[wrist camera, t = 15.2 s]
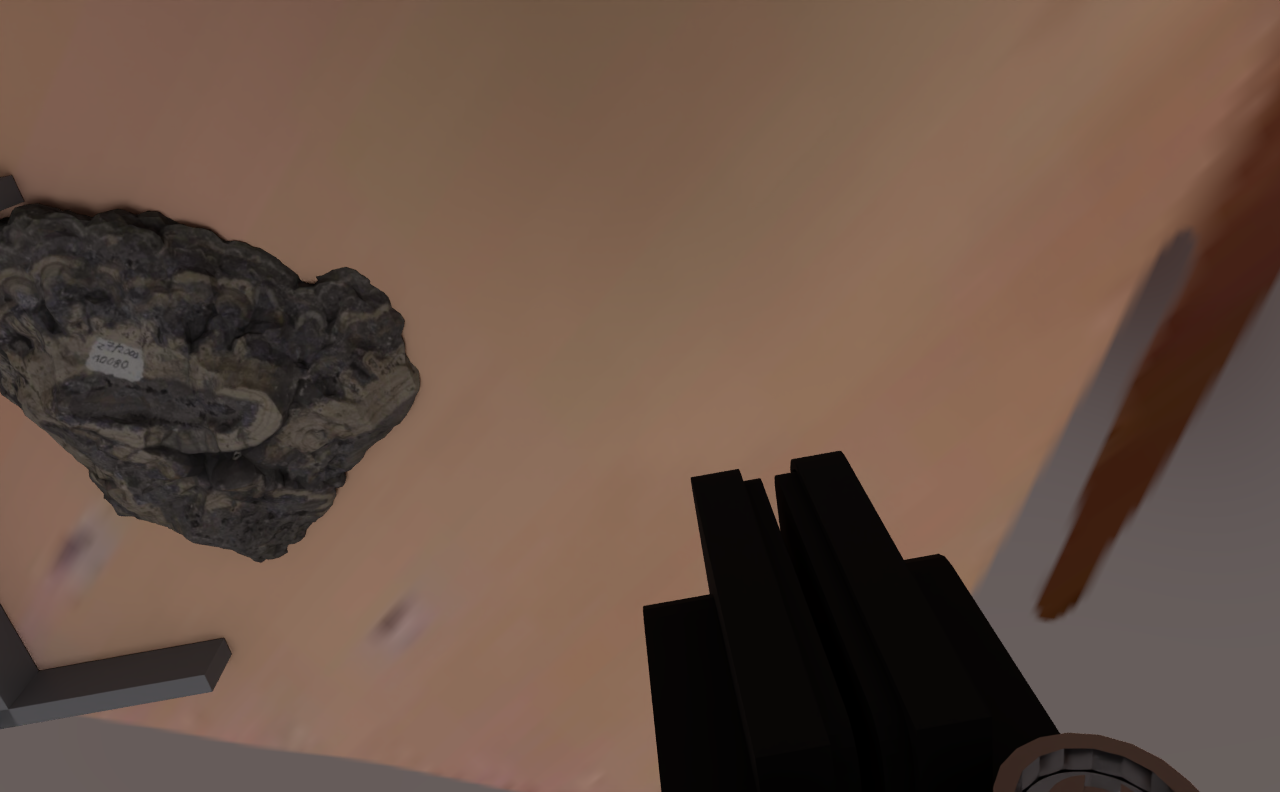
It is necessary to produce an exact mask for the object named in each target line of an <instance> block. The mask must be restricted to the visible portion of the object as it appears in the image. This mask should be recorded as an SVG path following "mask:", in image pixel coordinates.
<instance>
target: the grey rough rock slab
mask: <svg viewBox="0 0 1280 792" xmlns="http://www.w3.org/2000/svg"><path fill="white" fill-rule="evenodd" d="M316 278H317V280H318V281H317V282H316V283H315V284H308V283H305V282H303V281H301V280H300V278H299V276H298V275H297V274H296V273H295V272H293V271H292V270H291V269H289V268H288V267H287V266H285V265H283V264H282V263H281V262H280V260H279V259H277V258H276V257H274V256H272V255H271V254H269V253H267V252H266V251H264V250H262V249H261V248H254V247H251V246H249V245H248V244H246V243H242V242H238V241H231V242H230V241H225V240H222V239H220V238H219V237H218V236H217V235H216V234H214V233H213V232H212V231H211V230H207V229H204V228H193V227H189V226H186V225H184V224H179V223H177V222H175V221H173V220H172V219H170V218H167V217H165V216H163V215H162V214H161V213H160V212H150V211H147V212H144V213H141V214H137V215H135V214H132V213H130V212H128V211H125V210H121V209H115V210H112V211H108V212H104V213H99V214H97V215H95V216H94V217H90V216H87V215H79V214H76V213H74V212H72V211H70V210H65V211H62V210H60V209H58V208H54V207H50V206H46V205H41V204H38V203H37V204H28V205H23V206H19V207H16V208H14V209H13V211H12V213H11V216H10V217H6V218H3V219H1V220H0V392H1V394H2V395H3V396H4V397H6V398H7V399H9V400H10V401H11V402H13V403H14V404H16V405H18V406H19V407H20V408H21V409H22V410H23V412H24V414H25V416H27V417H28V418H29V419H31V420H32V421H33V422H34V423H36V424H37V425H38V426H39V427H40V428H42V429H43V430H45V431H46V432H47V433H48V434H49V435H50V436H51V437H52V438H53V439H54V440H55V441H56V442H58V443H59V444H60V445H61V446H62V447H63V448H64V449H65V450H66V451H67V452H69V453H70V454H72V455H73V456H74V458H75V459H76V460H77V461H78V462H80V463H81V464H83V465H84V466H85V467H86V468H88V469H89V477H90V479H91V480H92V482H94V483H95V484H96V485H97V487H98V488H99V489H100V490H101V491H102V492H103V493H104V499H106V500H107V501H108V502H109V503H110V504H111V505H112V506H113V507H114V509H115V511H116V513H117V515H119V516H134V517H136V518H137V519H140V520H145V521H149V522H152V523H156V524H158V525H162V526H166V527H168V528H169V529H172V530H174V531H175V532H177V533H179V534H182V535H183V536H184V537H185V538H186V539H188V540H189V541H191V542H193V543H197V544H202V545H208V546H214V547H220V548H223V549H231V550H233V551H235V552H237V553H239V554H241V555H244V556H247V557H250V558H251V559H252V560H254V561H256V562H260V563H261V562H263V561H264V560H266V559H275V558H279V557H281V556H283V555H284V554H286V553H287V552H288V551H287V546H288V544H295V543H297V542H299V541H301V540H302V539H303V538H304V537H305V534H306V530H307V528H308V527H309V526H310V525H311V524H312V522H316V520H317V519H318V518H320V517H322V516H323V515H324V514H325V513H326V512H327V510H328V509H329V508H330V507H331V506H332V504H333V500H334V498H335V497H336V488H339V487H342V486H343V485H344V484H345V481H346V475H345V472H347V471H349V470H351V469H352V468H353V467H354V466H355V465H356V464H357V463H358V462H360V460H361V459H362V458H363V457H364V454H365V452H366V451H367V450H368V449H369V448H370V447H371V446H372V445H374V444H375V443H376V442H377V441H379V440H381V439H383V438H384V437H385V436H386V435H387V434H388V433H389V432H390V431H391V430H392V428H393V427H394V426H396V425H398V424H400V422H401V421H402V420H403V419H404V418H405V416H406V415H407V413H408V411H409V410H410V408H411V406H412V404H413V402H414V399H415V396H416V394H417V393H418V391H419V386H420V381H419V371H418V369H417V368H416V367H415V366H414V365H413V364H412V363H411V362H410V360H409V358H408V357H407V356H406V354H405V346H404V342H403V339H402V337H401V334H402V330H403V327H404V319H403V318H402V316H401V314H400V313H399V312H397V311H396V310H394V309H393V308H392V307H391V303H390V301H389V298H388V297H387V295H386V294H385V293H384V292H382V291H380V290H379V289H378V288H376V287H374V286H373V285H371V284H370V280H369V279H368V278H366V277H365V276H363V275H361V274H360V273H359V272H358V271H356V270H354V269H351V268H348V267H344V268H339V269H335V270H331V271H330V272H328V273H326V274H325V275H322V276H317V277H316Z"/></svg>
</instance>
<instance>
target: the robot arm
mask: <svg viewBox="0 0 1280 792" xmlns="http://www.w3.org/2000/svg"><path fill="white" fill-rule="evenodd" d="M790 470H791V473H786V474H781V475H775V491H776V499H777V507H778V515H779V524H780V529H779V526H778V524H777V521H776V518H775V516H774V513H773V510H772V507H771V505H770V502H769V499H768V497H767V494H766V491H765V489H764V486H763V483H762V481H761V479H760V478H758V479H753V480H747V481H743V479H742V476H741V473H740V470H739V469H735V470H729V471H724V472H718V473H713V474H707V475H702V476H696V477H691V484H692V491H693V497H694V503H695V509H696V515H697V521H698V527H699V532H700V538H701V544H702V550H703V556H704V562H705V568H706V574H707V580H708V586H709V592H710V594H709V595H704V596H698V597H692V598H687V599H681V600H675V601H670V602H664V603H658V604H653V605H647V606H643V616H644V627H645V636H646V646H647V656H648V666H649V675H650V685H651V695H652V705H653V714H654V724H655V734H656V744H657V753H658V763H659V773H660V782H661V792H1199V791H1198V790H1197V789H1196V788H1195V787H1194V786H1193V785H1192V784H1191V782H1190V781H1188V780H1187V779H1186V778H1184V777H1183V776H1182V775H1181V774H1180V773H1179V772H1177V771H1176V770H1175V769H1174V768H1172V767H1171V766H1170V765H1169V764H1167V763H1166V762H1165V761H1164V760H1162V759H1160V758H1158V757H1156V756H1154V755H1153V754H1150V753H1149V752H1146V751H1145V750H1143V749H1141V748H1139V747H1137V746H1135V745H1133V744H1130V743H1126V742H1123V741H1119V740H1116V739H1112V738H1109V737H1105V736H1101V735H1093V734H1078V733H1064V734H1060V733H1059V732H1058V730H1057V728H1056V726H1055V725H1054V723H1053V722H1052V720H1051V719H1050V717H1049V716H1048V714H1047V713H1046V711H1045V709H1044V708H1043V706H1042V705H1041V703H1040V702H1039V700H1038V698H1037V697H1036V695H1035V694H1034V692H1033V691H1032V689H1031V688H1030V686H1029V684H1028V683H1027V681H1026V680H1025V678H1024V677H1023V675H1022V674H1021V672H1020V670H1019V669H1018V667H1017V666H1016V664H1015V663H1014V661H1013V660H1012V658H1011V657H1010V655H1009V653H1008V652H1007V650H1006V649H1005V647H1004V646H1003V644H1002V642H1001V641H1000V639H999V638H998V636H997V635H996V633H995V632H994V630H993V629H992V627H991V625H990V624H989V622H988V621H987V619H986V618H985V616H984V614H983V613H982V611H981V610H980V608H979V607H978V605H977V604H976V602H975V600H974V599H973V597H972V596H971V594H970V593H969V591H968V590H967V588H966V586H965V585H964V583H963V582H962V580H961V579H960V577H959V576H958V574H957V572H956V571H955V569H954V568H953V566H952V565H951V564H950V562H949V561H948V560H947V559H946V557H945V556H942V555H940V554H935V555H929V556H924V557H918V558H912V559H907V560H903V558H902V556H901V554H900V553H899V551H898V549H897V547H896V545H895V544H894V542H893V540H892V538H891V537H890V535H889V533H888V531H887V530H886V528H885V526H884V524H883V522H882V521H881V519H880V517H879V515H878V514H877V512H876V510H875V508H874V507H873V505H872V503H871V501H870V499H869V498H868V496H867V494H866V492H865V491H864V489H863V487H862V485H861V484H860V482H859V480H858V478H857V476H856V475H855V473H854V471H853V469H852V468H851V466H850V464H849V462H848V461H847V459H846V457H845V455H844V454H843V453H842V451H836V452H830V453H824V454H819V455H813V456H808V457H802V458H797V459H791V465H790Z"/></svg>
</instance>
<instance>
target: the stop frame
mask: <svg viewBox="0 0 1280 792" xmlns="http://www.w3.org/2000/svg"><path fill="white" fill-rule="evenodd" d="M22 202H24V201H23V198H22V196H21V194H20V192H19V190H18V187H17V185H16V183H15V181H14V179H13V177H12V175H10V176H5V177H0V211H1V210H4V209H6V208H9V207H12V206H14V205H17V204H19V203H22ZM231 655H232V654H231V652H230V650H229V648H228V645H227V643H226V641H225V639H224V638H222V639H216V640H211V641H205V642H199V643H194V644H188V645H183V646H177V647H171V648H166V649H160V650H154V651H149V652H143V653H138V654H132V655H126V656H121V657H115V658H109V659H104V660H98V661H93V662H87V663H81V664H76V665H70V666H64V667H59V668H53V669H48V670H42V671H38V669H37V667H36V666H35V664H34V662H33V660H32V659H31V657H30V655H29V654H28V652H27V650H26V648H25V647H24V645H23V643H22V641H21V640H20V638H19V636H18V635H17V633H16V631H15V629H14V628H13V626H12V624H11V622H10V621H9V619H8V617H7V616H6V614H5V612H4V610H3V609H2V607H1V605H0V729H4V728H9V727H15V726H21V725H27V724H32V723H38V722H43V721H49V720H55V719H60V718H65V717H72V716H77V715H83V714H89V713H94V712H100V711H106V710H111V709H117V708H123V707H128V706H134V705H140V704H145V703H151V702H157V701H162V700H168V699H174V698H179V697H185V696H190V695H196V694H202V693H207V692H212V691H213V690H214V688H215V686H216V684H217V682H218V680H219V678H220V676H221V674H222V672H223V670H224V668H225V666H226V664H227V663H228V661H229V659H230V657H231Z"/></svg>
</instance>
